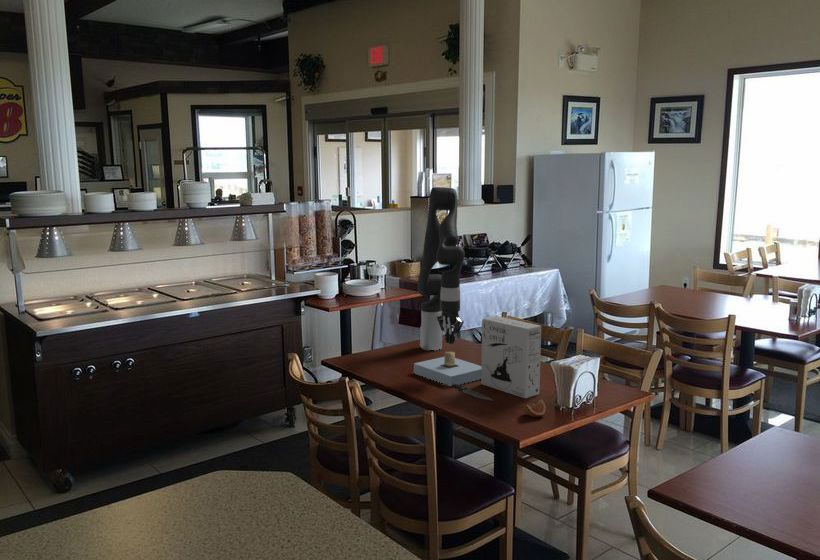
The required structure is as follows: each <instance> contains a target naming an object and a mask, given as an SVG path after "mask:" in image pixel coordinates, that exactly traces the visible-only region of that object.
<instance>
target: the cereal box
mask: <svg viewBox="0 0 820 560" xmlns="http://www.w3.org/2000/svg"><path fill="white" fill-rule="evenodd" d="M541 342H542V326H541V325H539V324H535V323H530V322H526V321H520V320H516V319H513V318H507V317H503V316H498V315H494V316H490V317H489V316H488V317H485V318H482V320H481V365H480V366H481V380H480V381H481V382H480V383H481V385H483V386H486V387H489V388H492V389H495V390H497V391H502V392H504V393H507V394H511V395H512V396H516V397H520V398H522V399H529V398H532V397H535V396H538V395H540V388H541V387H540V386H541V385H540V383H541V382H540V381H541V380H540V379H541V353H542V351H541V350H542V349H541V345H542V343H541Z"/></svg>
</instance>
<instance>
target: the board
mask: <svg viewBox="0 0 820 560" xmlns="http://www.w3.org/2000/svg"><path fill="white" fill-rule="evenodd" d="M414 373H415V375H417V376H420V377H422V376H423V378H425V377H426V378H425V379H428V380H430V379H431V380H430V381H433V380H434V381H433V382H436V381H437V383H439V382H440V383H439V384H441V383H443V384H447V385H448V386H447V387H449V386H452V385H455V384H457V385H460V384H461V385H464V383H465V384H468V382H469V383H473V382H476V380H477V381H481V380H480V379H481V365H478V364H476V363H472V362H469V361H466V360H464V359H460V358H456V357H455V367H454V368H446V367H444V356H441V357H437V358H433V359H428V360H424V361H419V362H414V363H413V374H414ZM472 381H473V382H472ZM443 384H442V385H443ZM461 385H460V386H461Z"/></svg>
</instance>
